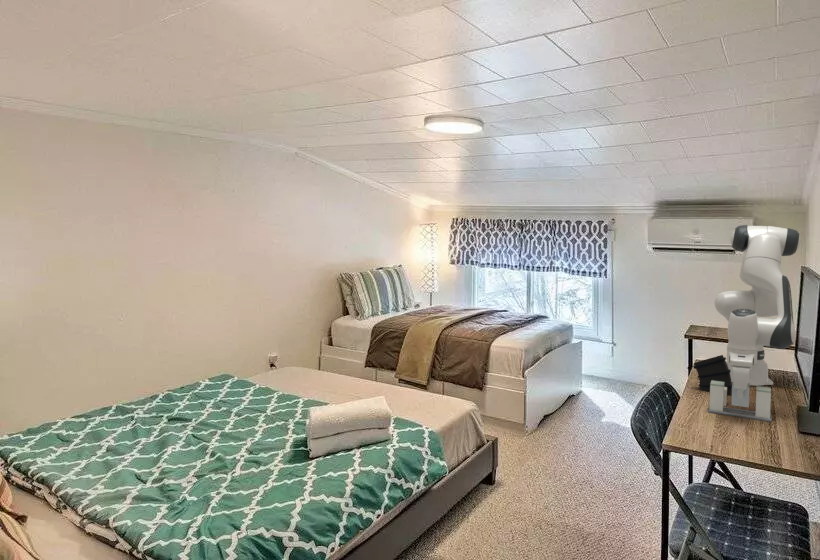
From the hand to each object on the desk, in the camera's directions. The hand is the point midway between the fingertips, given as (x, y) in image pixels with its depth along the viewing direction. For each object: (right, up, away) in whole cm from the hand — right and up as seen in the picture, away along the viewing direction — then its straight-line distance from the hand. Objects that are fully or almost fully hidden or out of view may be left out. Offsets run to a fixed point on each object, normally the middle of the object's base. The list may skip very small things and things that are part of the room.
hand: (740, 395), depth 177 cm
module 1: (-6, -6, +4) cm, 9 cm away
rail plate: (0, -7, +1) cm, 7 cm away
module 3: (+5, -7, -3) cm, 9 cm away
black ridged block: (+6, -5, +28) cm, 29 cm away
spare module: (0, -6, +13) cm, 14 cm away
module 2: (0, -3, 0) cm, 3 cm away
